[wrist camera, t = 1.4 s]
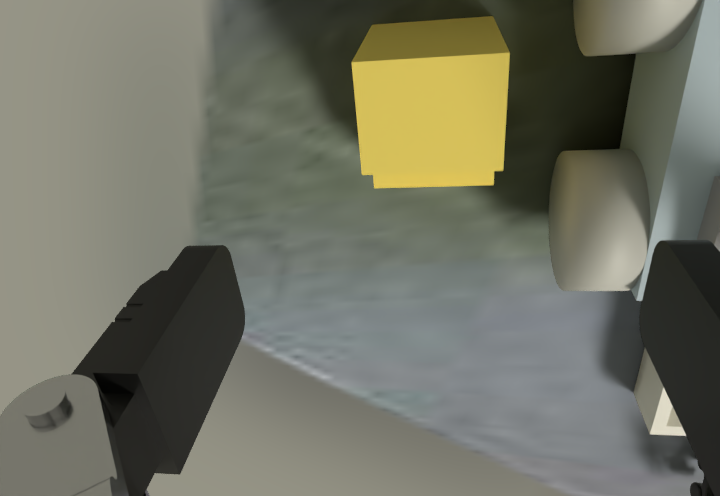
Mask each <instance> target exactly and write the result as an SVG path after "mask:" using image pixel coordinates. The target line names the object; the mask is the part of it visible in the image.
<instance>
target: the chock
mask: <svg viewBox="0 0 720 496" xmlns="http://www.w3.org/2000/svg"><path fill="white" fill-rule="evenodd" d="M509 60H510V52H509V50H508V48H507V45H506V43H505V41H504V39H503V37H502V35H501V33H500V30H499V28H498V26H497V24H496V22H495V20H494V17H493V16H486V17H472V18H458V19H444V20H430V21H416V22H402V23H388V24H374V25H371V27H370V29H369V31H368V33H367V35H366V36H365V38H364V40H363V42H362V44H361V46H360V48H359V49H358V51H357V53H356V55H355V57H354V59H353V60H352V62H351V63H352V73H353V84H354V95H355V106H356V116H357V127H358V138H359V148H360V159H361V170H362V175H373V179H374V188H403V187H443V186H482V185H494V171H503V167H504V149H505V131H506V113H507V96H508V78H509Z"/></svg>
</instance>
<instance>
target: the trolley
mask: <svg viewBox="0 0 720 496" xmlns="http://www.w3.org/2000/svg"><path fill="white" fill-rule="evenodd" d="M573 13H574V26H575V33H576V38H577V42H578V46H579V48H580V50H581V52H582V53H583V55H585V56H603V55H620V54H636V58H635V64H634V70H633V75H632V81H631V87H630V92H629V98H628V104H627V110H626V115H625V121H624V127H623V133H622V138H621V144H620V149H605V150H576V151H562V152H561V153H560V154H559V156H558V158H557V160H556V163H555V166H554V170H553V175H552V181H551V188H550V198H549V244H550V254H551V261H552V267H553V272H554V276H555V279H556V282H557V284H558V286H559V288H560V289H561V290H563V291H628V290H631V291H632V293H633V295H634V297H635V299H636V301H642V299H643V295H644V290H645V286H646V282H647V277H648V273H649V269H650V264H651V260H652V255H653V252H654V249H655V246H656V245H657V243H658V242H659V241H662V240H709V241H711V242H712V243H713V244H714V245H715V247H716V248H717V249H718V250H719V251H720V0H573Z"/></svg>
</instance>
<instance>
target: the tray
mask: <svg viewBox="0 0 720 496" xmlns="http://www.w3.org/2000/svg"><path fill="white" fill-rule="evenodd" d="M633 393H634V396H635V398H636V401H637V403H638V406H639V408H640V411H641V413H642V416H643V418H644V421H645V423H646V426H647V428H648V431H649V434H652V435H678V436H686V434H685V432H684V430H683V428H682V425H681V423H680V421H679V419H678V417H677V415H676V413H675V410H674V408H673V406H672V404H671V402H670V400H669V397H668V395H667V393H666V391H665V389H664V387H663V385H662V382H661V380H660V378H659V376H658V374H657V372H656V370H655V367H654V365H653V363H652V361H651V359H650V357H649V355H648V352H647V350H646V348H645V349H644V353H643V357H642V361H641V365H640V369H639V373H638V377H637V381H636V385H635V389H634V392H633Z"/></svg>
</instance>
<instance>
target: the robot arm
mask: <svg viewBox="0 0 720 496" xmlns="http://www.w3.org/2000/svg"><path fill="white" fill-rule="evenodd" d="M244 325H245V311H244V305H243V301H242V297H241V293H240V290H239V286H238V282H237V278H236V274H235V270H234V266H233V262H232V258H231V255H230V252H229V250H228V249H227V247H225V246H223V245H216V246H187V247H185V248H184V249H183V250H182V252H181V253H180V254H179V256H178V257H177V258H176V260H175V261H174V262H173V264H172V265H171V267H170V268H169V269H168V271H160V272H159V273H158V274H156V275H155V276H153V277H152V278H151V279H149V280H148V281H146V282H145V283H144V284H142V285H141V286H140V287H139V288H138V289H137V291H136V292H135V293H134V295H133V296H132V297H131V298H130V300H129V301H128V302H127V306H126V307H123V309H122V310H121V311H120V312H119V314H118V315H117V316H116V318H115V322H112V323H111V324H110V326H109V327H108V328H107V329H106V331H105V332H104V333H103V334H102V336H101V337H100V338H99V339H98V341H97V342H96V344H95V345H94V346H93V347H92V348H91V350H90V351H89V353H88V354H87V355H86V356H85V358H84V359H83V360H82V361H81V363H80V364H79V365H78V367H77V368H76V369H75V370H74V372H73V373H72V374H71V375H62V376H58V377H54V378H51V379H48V380H45V381H43V382H41V383H38V384H36V385H35V386H33V387H31V388H29V389H27V390H26V391H25V392H23V393H22V394H20V395H19V396H18V397H16V398H15V399H14V400H13V401H12V402H11V403H10V404H9V405H8V406H7V407H6V408H5V410H4V411H3V413H2V414H1V416H0V496H150V495H149V493H148V491H147V487H148V485H149V483H150V481H151V479H152V477H153V475H154V473H165V474H180V473H181V471H182V469H183V466H184V464H185V462H186V460H187V458H188V455H189V453H190V451H191V449H192V447H193V444H194V442H195V440H196V438H197V435H198V433H199V431H200V429H201V427H202V424H203V422H204V420H205V418H206V415H207V413H208V411H209V409H210V407H211V404H212V402H213V400H214V398H215V396H216V393H217V391H218V389H219V387H220V384H221V382H222V380H223V378H224V376H225V373H226V371H227V369H228V367H229V365H230V362H231V360H232V358H233V356H234V353H235V351H236V349H237V347H238V345H239V342H240V340H241V338H242V335H243V331H244ZM639 325H640V333H641V338H642V341H643V344H644V346H645V348H646V350H647V352H648V355H649V357H650V359H651V361H652V363H653V365H654V367H655V370H656V372H657V374H658V376H659V378H660V380H661V382H662V385H663V387H664V389H665V391H666V393H667V395H668V397H669V400H670V402H671V404H672V406H673V408H674V410H675V413H676V415H677V417H678V419H679V421H680V423H681V425H682V428H683V430H684V432H685V434H686V436H687V438H688V440H689V443H690V445H691V447H692V449H693V451H694V453H695V455H696V458H697V460H698V462H699V464H700V466H701V468H702V470H703V473H704V475H705V477H706V479H707V481H708V483H709V485H710V488H711V490H712V492H713V494H714V496H720V251H719V250H718V249H717V248H716V247H715V245H714V244H713V243H712V242H711V241H709V240H662V241H659V242H658V243H657V245H656V246H655V249H654V252H653V255H652V260H651V264H650V269H649V273H648V277H647V282H646V286H645V290H644V295H643V299H642V304H641V308H640V315H639Z"/></svg>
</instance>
